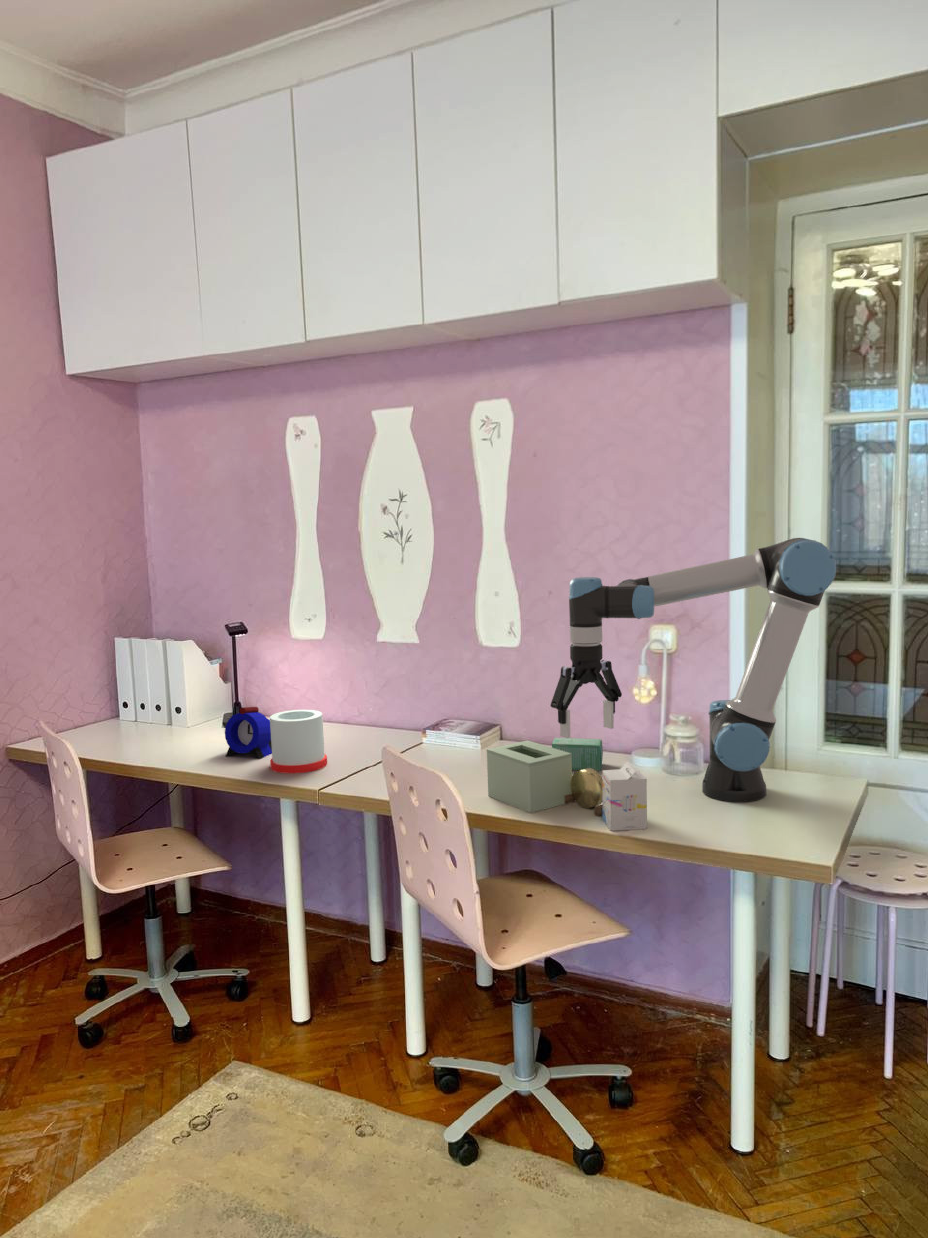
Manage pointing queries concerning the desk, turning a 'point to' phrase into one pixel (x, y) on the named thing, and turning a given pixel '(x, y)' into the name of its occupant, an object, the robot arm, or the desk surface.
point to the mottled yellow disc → (587, 787)
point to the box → (582, 752)
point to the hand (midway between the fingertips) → (587, 732)
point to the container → (297, 741)
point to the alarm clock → (249, 733)
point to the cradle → (598, 808)
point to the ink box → (624, 799)
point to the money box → (529, 775)
